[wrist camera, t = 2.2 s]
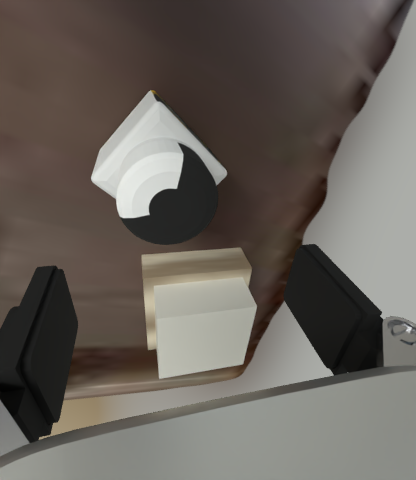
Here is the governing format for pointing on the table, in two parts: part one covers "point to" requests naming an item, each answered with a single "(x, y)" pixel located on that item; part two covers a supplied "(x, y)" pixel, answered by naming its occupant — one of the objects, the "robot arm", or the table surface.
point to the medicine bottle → (159, 174)
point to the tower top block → (202, 325)
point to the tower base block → (188, 274)
